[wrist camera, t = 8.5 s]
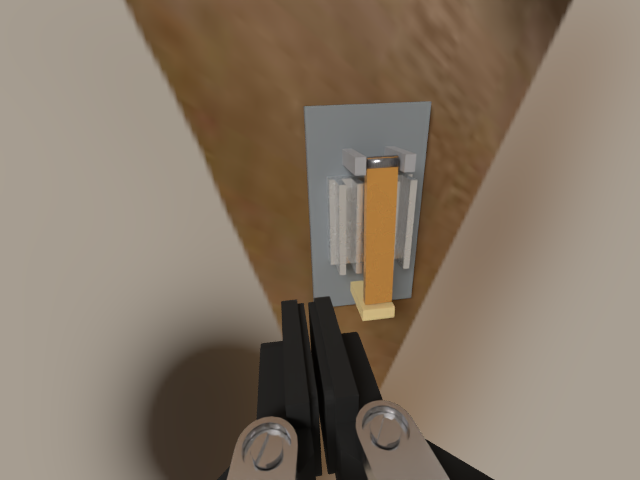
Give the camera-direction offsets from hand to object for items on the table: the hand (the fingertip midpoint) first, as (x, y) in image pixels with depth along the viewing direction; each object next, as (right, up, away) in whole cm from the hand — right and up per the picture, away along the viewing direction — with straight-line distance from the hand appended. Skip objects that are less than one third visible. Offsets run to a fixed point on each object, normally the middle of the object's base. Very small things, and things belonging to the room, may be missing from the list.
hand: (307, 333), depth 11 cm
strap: (+6, +4, +21) cm, 22 cm away
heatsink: (+6, +6, +26) cm, 27 cm away
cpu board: (+6, +6, +26) cm, 27 cm away
